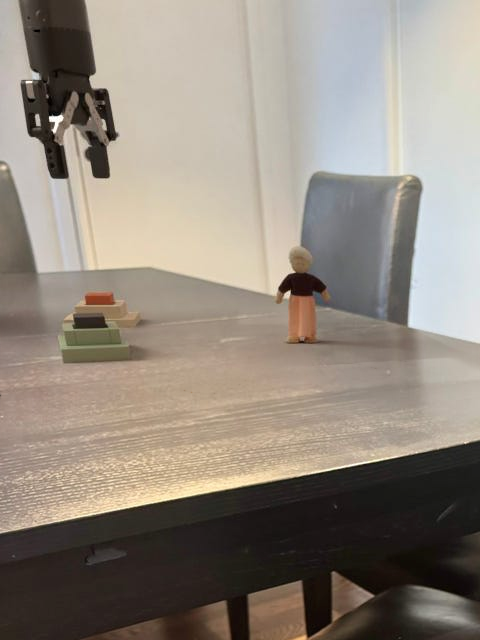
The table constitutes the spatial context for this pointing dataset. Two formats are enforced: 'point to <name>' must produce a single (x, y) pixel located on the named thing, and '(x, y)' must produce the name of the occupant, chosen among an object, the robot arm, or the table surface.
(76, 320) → the key front
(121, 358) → the green stepped pyramid
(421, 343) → the table surface
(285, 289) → the grandmother figurine
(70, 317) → the beige stepped base
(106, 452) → the table surface
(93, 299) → the key back
